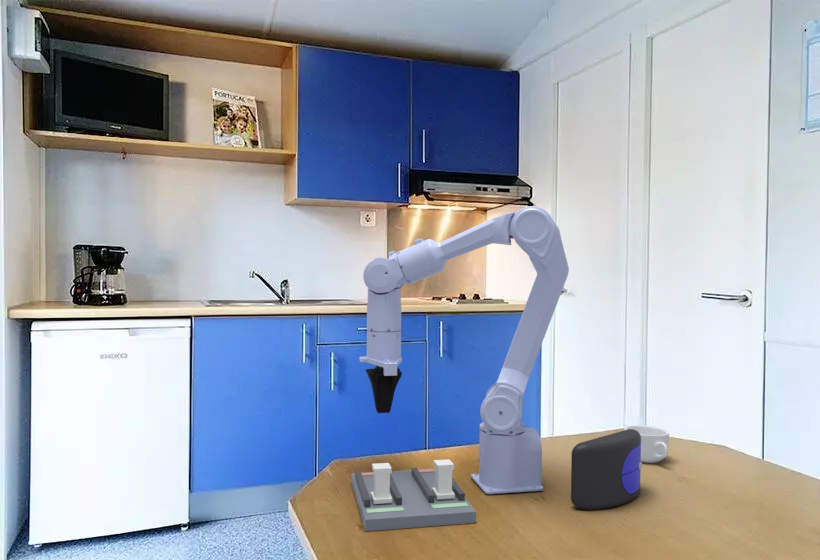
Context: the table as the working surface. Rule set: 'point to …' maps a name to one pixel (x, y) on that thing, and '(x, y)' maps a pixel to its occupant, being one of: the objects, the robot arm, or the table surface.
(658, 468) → the table surface
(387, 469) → the breaker
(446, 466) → the breaker
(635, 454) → the leaning round-cornered charcoal block
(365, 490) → the panel
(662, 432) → the teacup
